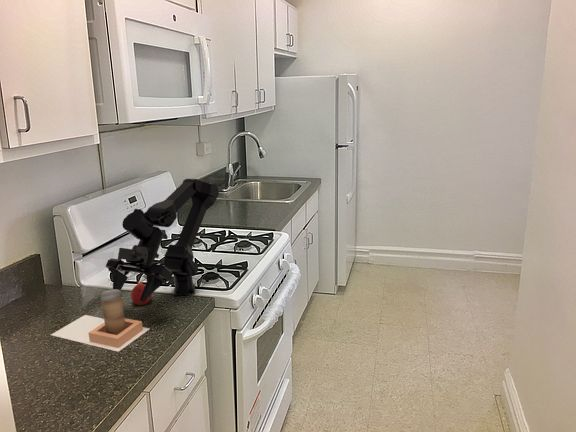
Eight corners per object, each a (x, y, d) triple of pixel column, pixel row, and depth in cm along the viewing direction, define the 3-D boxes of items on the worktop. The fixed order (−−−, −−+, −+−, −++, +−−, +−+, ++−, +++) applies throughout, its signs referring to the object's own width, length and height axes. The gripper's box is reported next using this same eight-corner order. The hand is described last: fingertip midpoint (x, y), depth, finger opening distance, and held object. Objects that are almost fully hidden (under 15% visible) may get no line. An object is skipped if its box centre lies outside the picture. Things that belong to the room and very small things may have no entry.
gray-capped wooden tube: (105, 333, 130) (99, 292, 126) (124, 328, 132) (119, 287, 129) (108, 342, 125) (102, 299, 122) (128, 336, 128) (122, 294, 124)
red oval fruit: (147, 311, 144) (143, 286, 142) (129, 309, 146) (125, 285, 143) (155, 302, 150) (153, 278, 148) (138, 301, 151) (135, 277, 149)
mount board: (51, 338, 131) (50, 334, 130) (85, 318, 141) (85, 314, 141) (119, 355, 121) (118, 351, 121) (150, 332, 132) (149, 328, 132)
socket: (114, 324, 135) (113, 316, 134) (142, 329, 131) (141, 321, 130) (89, 341, 126) (88, 332, 126) (118, 347, 123) (117, 338, 122)
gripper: (104, 231, 135) (81, 284, 128) (161, 237, 128) (139, 293, 122) (127, 248, 144) (107, 298, 138) (181, 254, 137) (162, 307, 131)
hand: (127, 299), depth 132 cm, fingers open, 9 cm apart
